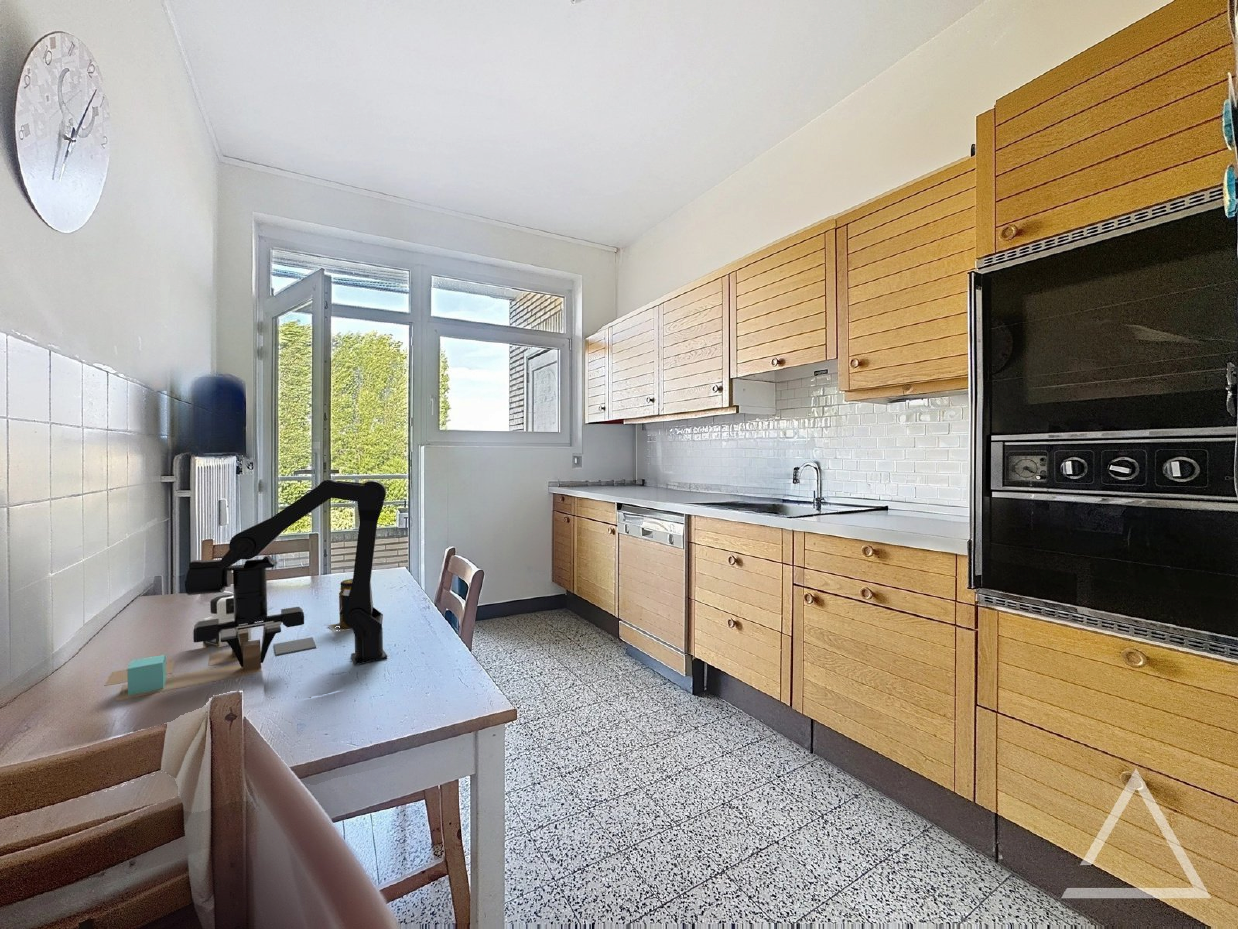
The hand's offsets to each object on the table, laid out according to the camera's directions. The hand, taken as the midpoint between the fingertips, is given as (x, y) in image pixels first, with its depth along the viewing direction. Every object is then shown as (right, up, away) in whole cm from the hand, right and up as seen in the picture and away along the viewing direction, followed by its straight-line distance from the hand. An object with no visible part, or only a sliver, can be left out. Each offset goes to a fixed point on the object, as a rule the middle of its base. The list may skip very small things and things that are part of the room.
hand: (252, 664), depth 113 cm
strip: (-8, -2, -5) cm, 10 cm away
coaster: (0, -2, +15) cm, 15 cm away
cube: (-14, -1, -9) cm, 17 cm away
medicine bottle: (-17, -2, +16) cm, 24 cm away
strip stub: (-9, -2, +6) cm, 11 cm away
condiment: (+5, -1, +30) cm, 31 cm away
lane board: (-16, -2, -5) cm, 17 cm away
